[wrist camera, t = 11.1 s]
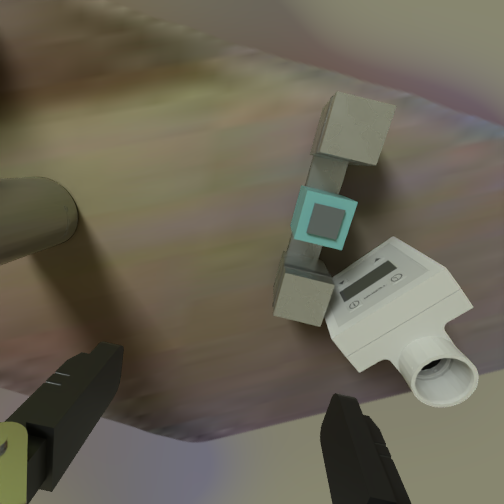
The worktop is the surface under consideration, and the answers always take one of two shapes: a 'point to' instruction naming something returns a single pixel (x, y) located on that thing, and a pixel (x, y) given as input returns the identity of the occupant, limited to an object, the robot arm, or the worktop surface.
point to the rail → (330, 179)
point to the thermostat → (403, 321)
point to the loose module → (322, 217)
